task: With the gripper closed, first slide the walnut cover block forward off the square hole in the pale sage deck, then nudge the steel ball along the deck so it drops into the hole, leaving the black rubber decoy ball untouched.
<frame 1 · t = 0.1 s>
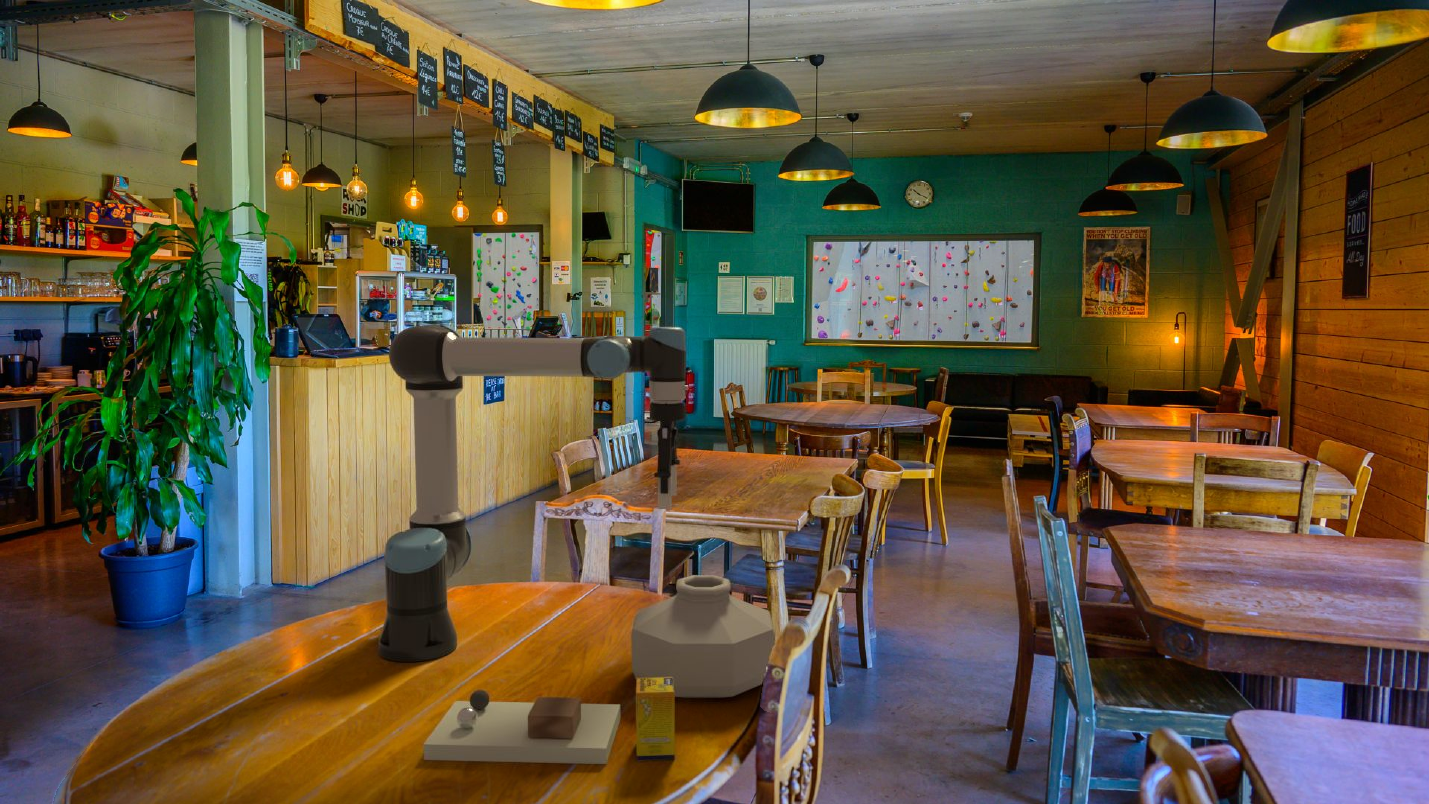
hand: (667, 501, 202), 28 cm above the table, fingers open, 13 cm apart
supplement box: (655, 753, 150), on the table
deck: (526, 738, 155), on the table
pot: (702, 679, 180), on the table
decoy: (479, 699, 159), point 4 cm above the table, touching deck
ball: (467, 718, 152), point 4 cm above the table, touching deck
cover: (554, 717, 152), point 5 cm above the table, slide at 0.0 cm
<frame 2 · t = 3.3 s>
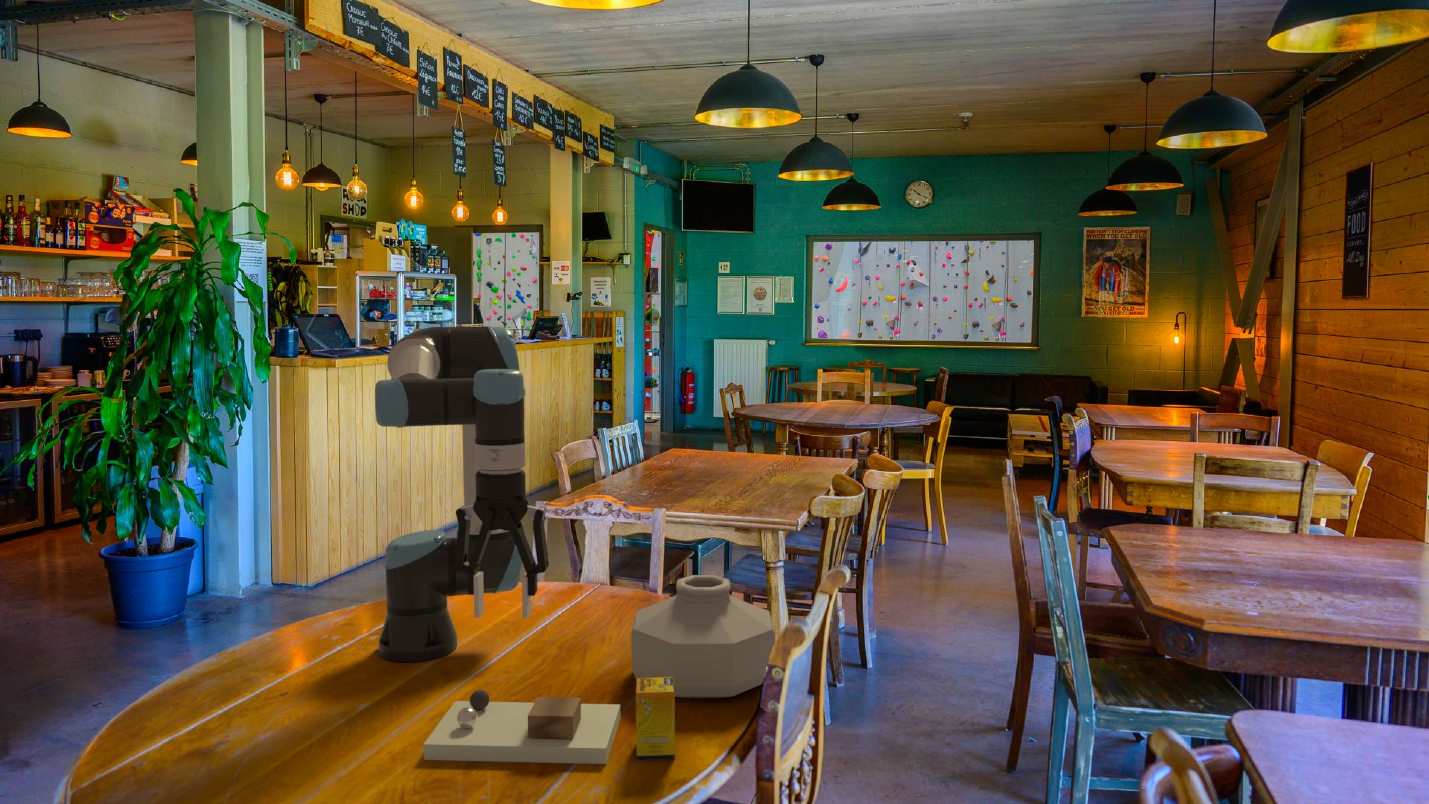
hand: (503, 614, 150), 21 cm above the table, fingers open, 7 cm apart
nothing on the table moved.
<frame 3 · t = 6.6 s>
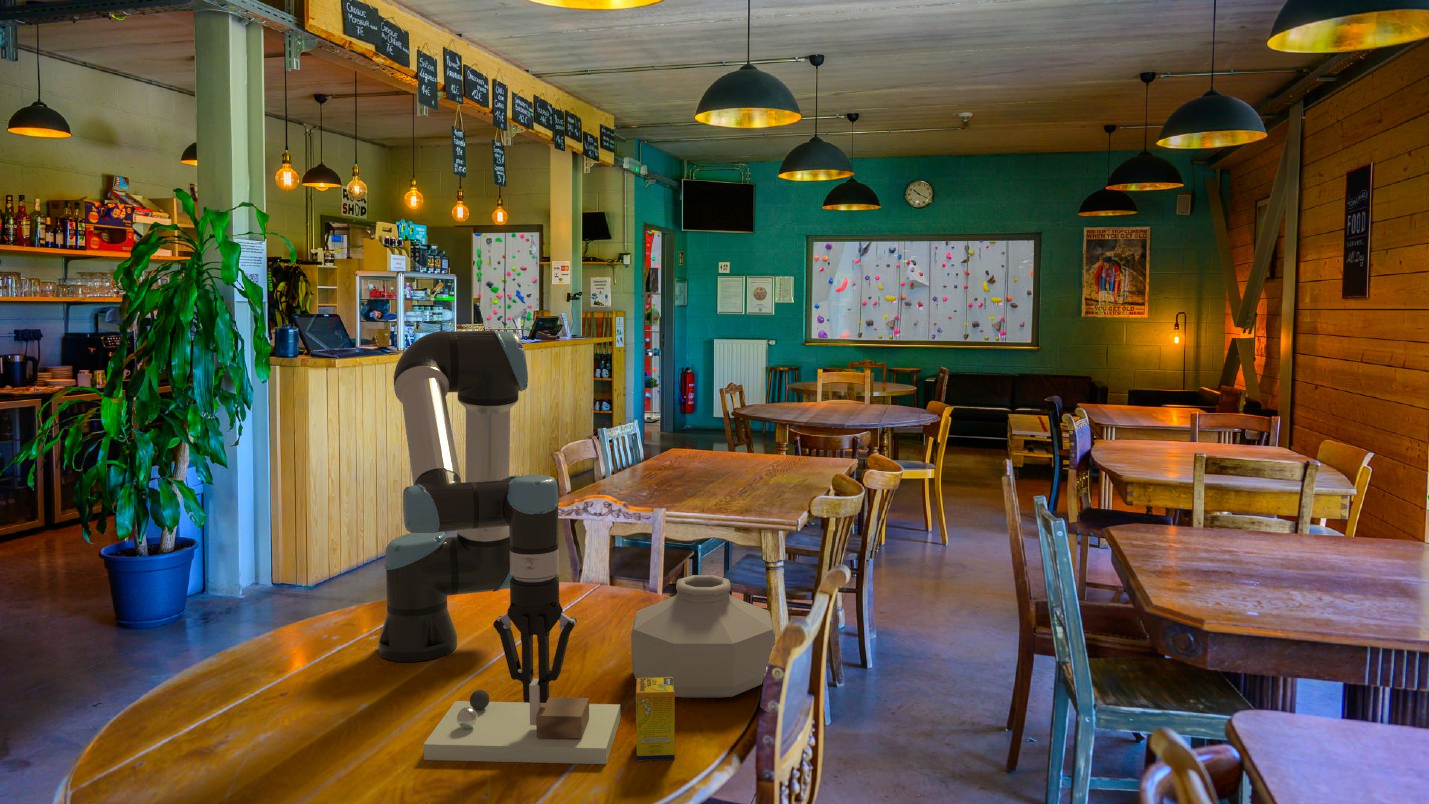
hand: (536, 721, 152), 4 cm above the table, fingers closed
cover: (563, 717, 152), point 5 cm above the table, slide at 1.3 cm, touching gripper
everything else where it was.
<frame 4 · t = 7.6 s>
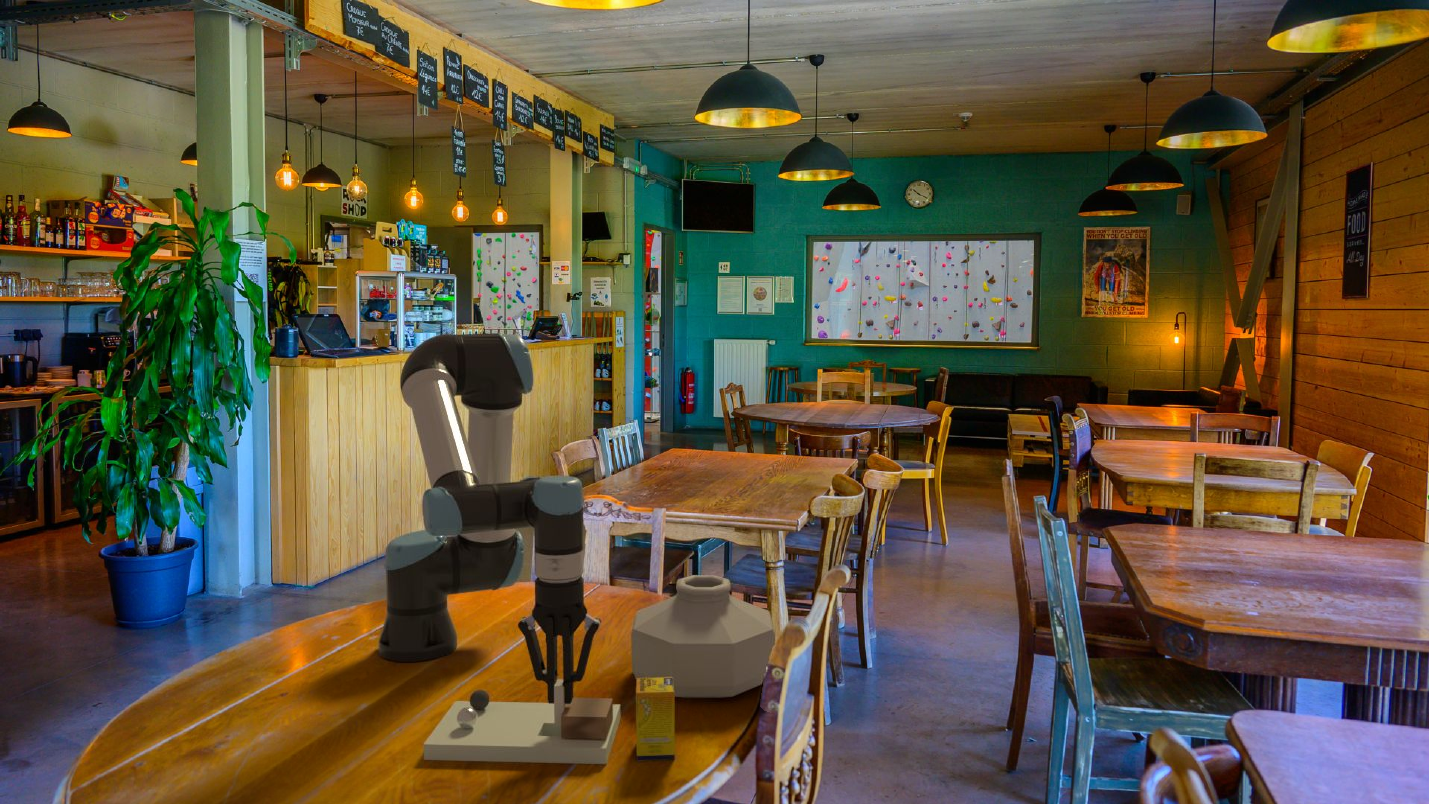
hand: (560, 722, 152), 4 cm above the table, fingers closed
cover: (587, 717, 152), point 5 cm above the table, slide at 5.2 cm, touching gripper
everything else where it was.
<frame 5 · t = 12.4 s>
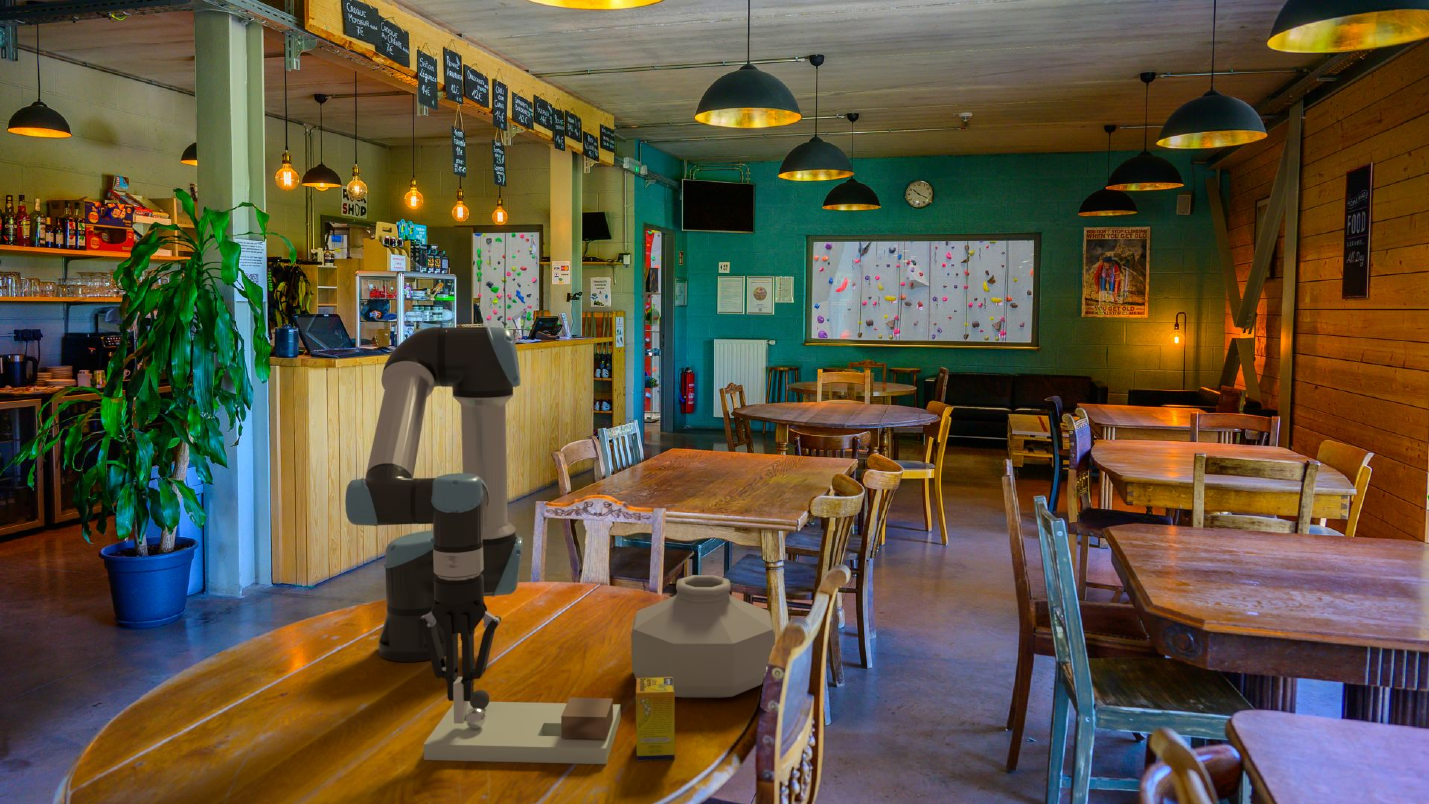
hand: (461, 719, 152), 4 cm above the table, fingers closed
ball: (475, 718, 152), point 4 cm above the table, tilted 46°, touching deck, gripper
cover: (587, 717, 152), point 5 cm above the table, slide at 5.2 cm
everything else where it was.
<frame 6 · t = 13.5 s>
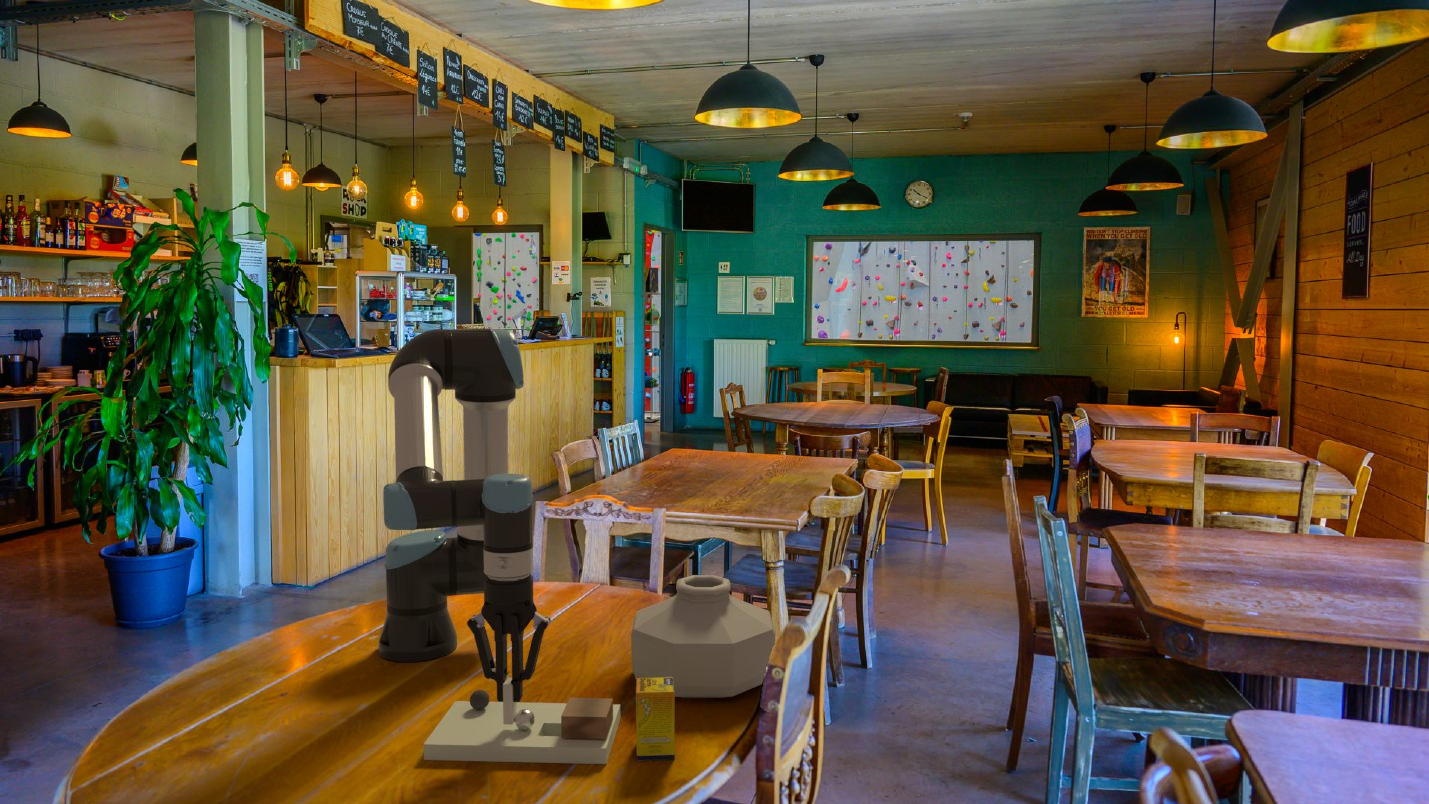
hand: (510, 720, 152), 4 cm above the table, fingers closed
ball: (524, 719, 152), point 4 cm above the table, tilted 68°, touching deck
everything else where it was.
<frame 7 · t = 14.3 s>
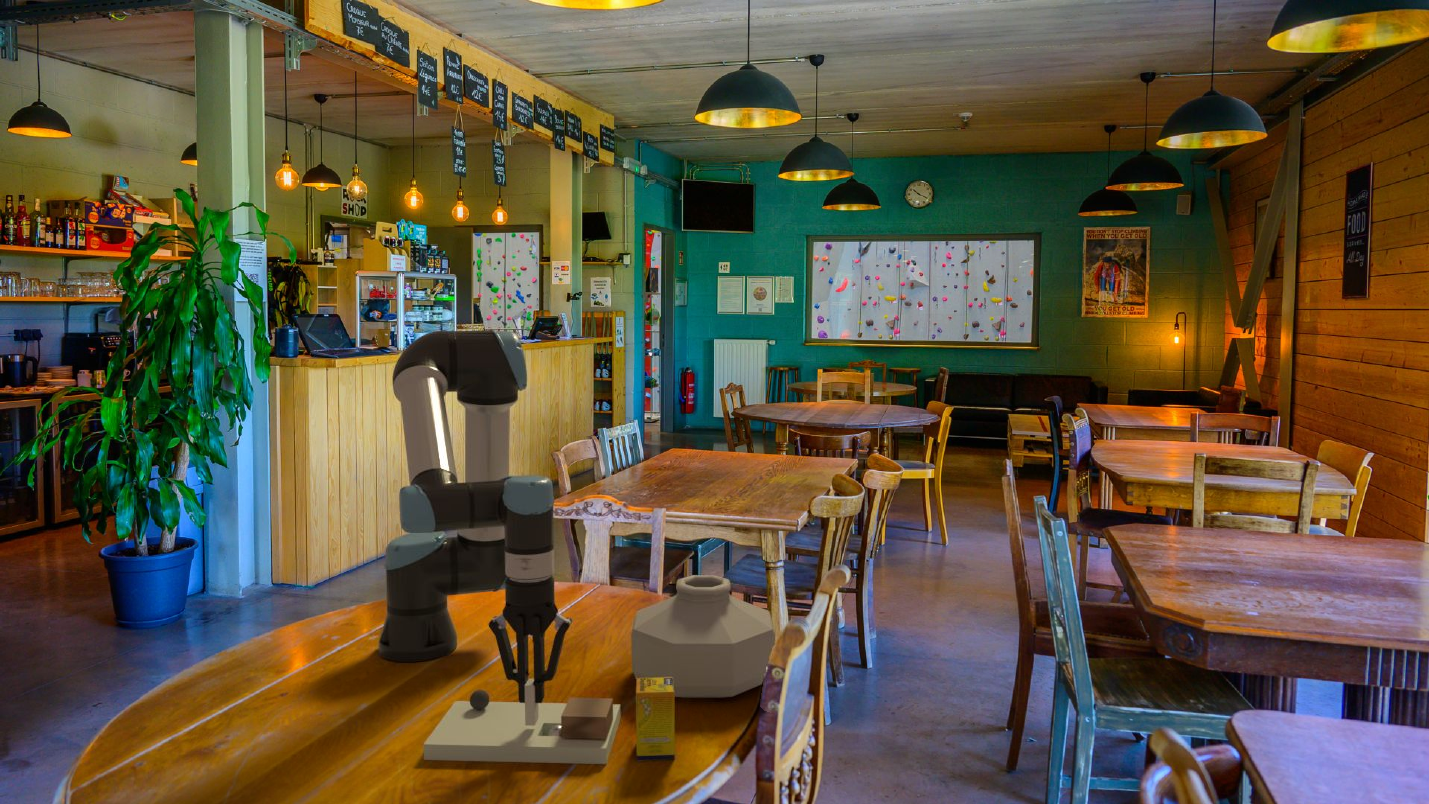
hand: (531, 721, 152), 4 cm above the table, fingers closed
ball: (558, 735, 152), point 2 cm above the table, tilted 138°
everything else where it was.
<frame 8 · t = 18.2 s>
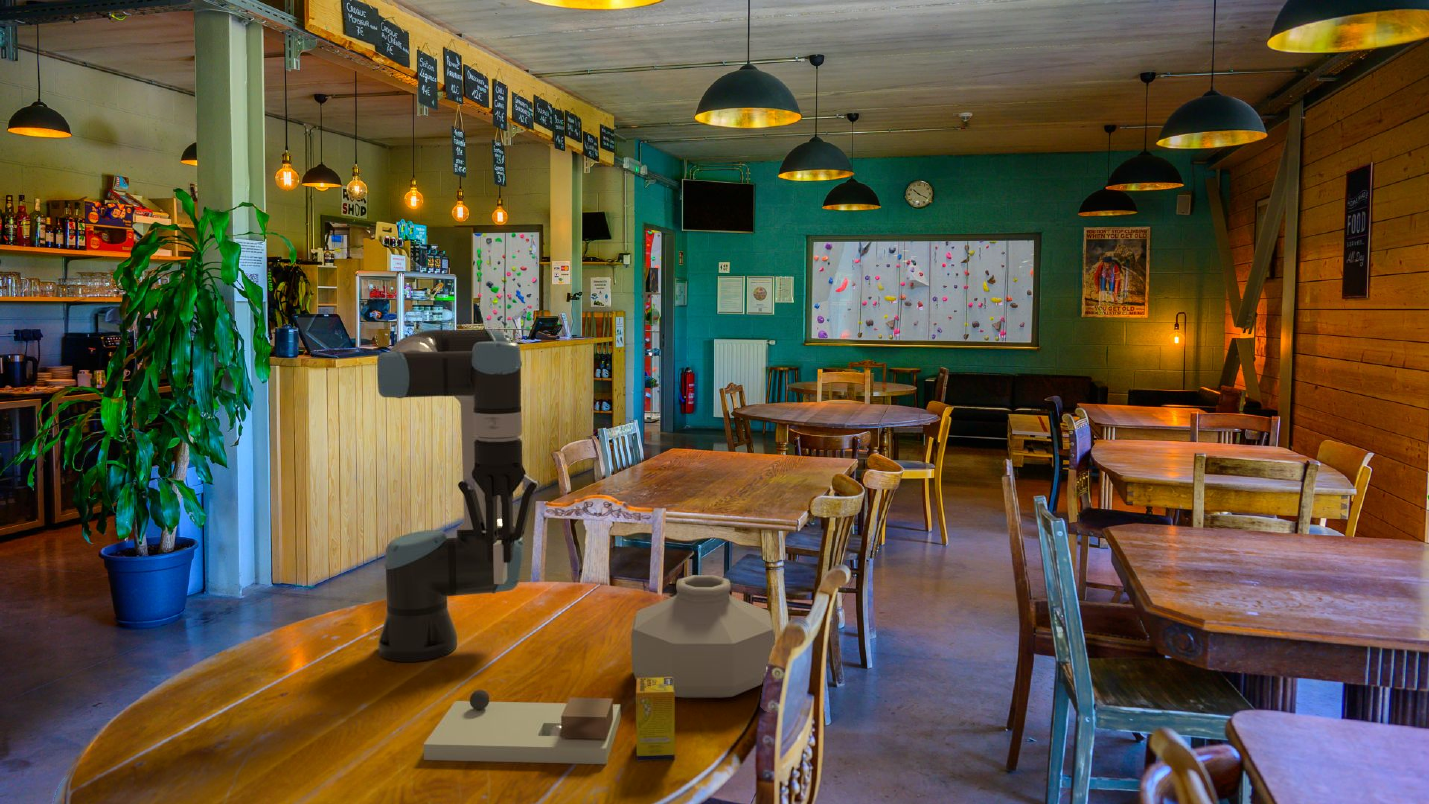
hand: (500, 581, 157), 24 cm above the table, fingers closed
ball: (559, 735, 152), point 2 cm above the table, tilted 144°, touching cover
cover: (587, 717, 152), point 5 cm above the table, slide at 5.2 cm, touching ball
everything else where it was.
at the end: ball 0.6 cm from the target spot in the deck, point 1.6 cm above the deck's base; cover slide at 5.2 cm; decoy moved 0.1 cm from its start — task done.
